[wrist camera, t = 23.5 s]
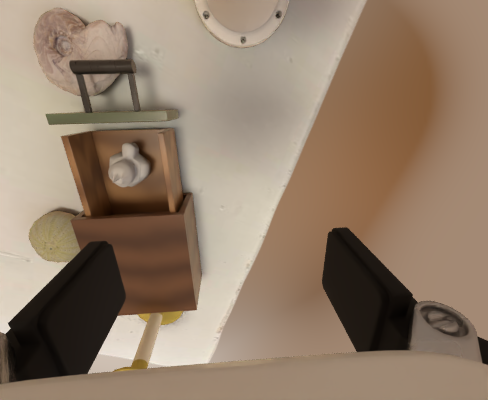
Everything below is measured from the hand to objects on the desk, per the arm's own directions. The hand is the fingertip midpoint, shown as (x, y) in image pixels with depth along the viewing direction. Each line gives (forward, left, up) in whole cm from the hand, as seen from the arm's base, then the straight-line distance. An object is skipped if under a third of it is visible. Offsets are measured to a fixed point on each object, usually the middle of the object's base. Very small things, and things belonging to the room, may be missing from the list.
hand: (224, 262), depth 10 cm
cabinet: (+16, -14, -30) cm, 37 cm away
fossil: (-13, -18, -30) cm, 38 cm away
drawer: (0, -14, -29) cm, 33 cm away
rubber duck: (+1, -14, -28) cm, 32 cm away
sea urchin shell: (+14, -29, -30) cm, 44 cm away
